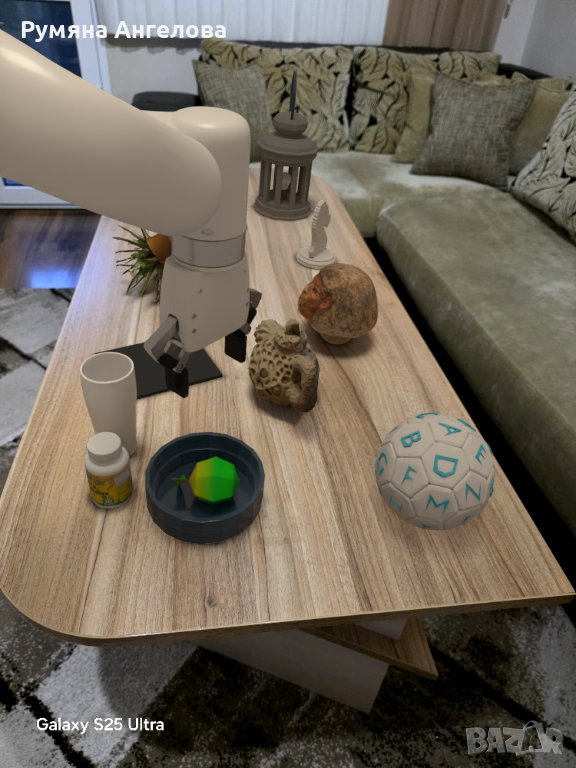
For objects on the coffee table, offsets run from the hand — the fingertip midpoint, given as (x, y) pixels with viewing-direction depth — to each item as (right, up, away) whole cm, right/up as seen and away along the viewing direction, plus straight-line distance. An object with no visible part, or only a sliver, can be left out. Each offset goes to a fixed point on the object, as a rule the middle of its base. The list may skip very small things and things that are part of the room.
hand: (207, 374), depth 66 cm
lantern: (+8, +49, +90) cm, 103 cm away
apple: (-1, -16, +7) cm, 18 cm away
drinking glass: (-15, -11, +12) cm, 22 cm away
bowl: (-1, -17, +7) cm, 18 cm away
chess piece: (+17, +29, +66) cm, 74 cm away
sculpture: (+19, +8, +40) cm, 45 cm away
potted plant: (-16, +19, +49) cm, 55 cm away
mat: (-13, +2, +28) cm, 31 cm away
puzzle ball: (+28, -18, +9) cm, 35 cm away
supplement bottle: (-14, -16, +6) cm, 22 cm away
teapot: (+9, -4, +25) cm, 27 cm away
